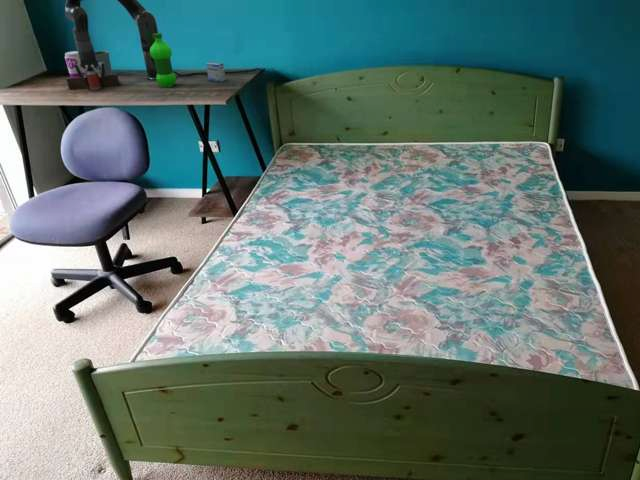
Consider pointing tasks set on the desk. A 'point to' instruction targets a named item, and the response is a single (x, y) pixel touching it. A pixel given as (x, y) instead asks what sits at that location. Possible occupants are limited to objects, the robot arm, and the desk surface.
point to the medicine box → (215, 72)
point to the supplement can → (73, 63)
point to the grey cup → (104, 57)
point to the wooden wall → (80, 84)
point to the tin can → (93, 80)
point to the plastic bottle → (162, 61)
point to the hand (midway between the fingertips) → (94, 84)
